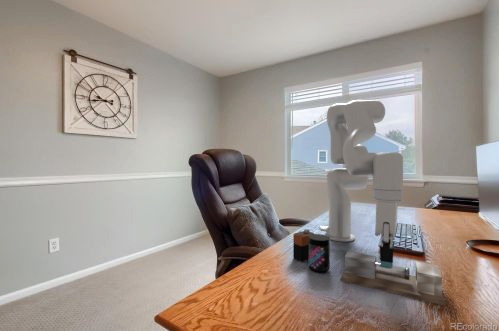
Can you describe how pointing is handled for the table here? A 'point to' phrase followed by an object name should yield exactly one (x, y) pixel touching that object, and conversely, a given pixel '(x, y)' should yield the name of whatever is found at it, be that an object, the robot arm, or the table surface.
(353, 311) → the table surface
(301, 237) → the battery
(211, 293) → the table surface
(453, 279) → the table surface
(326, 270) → the supplement container
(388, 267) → the l-shaped stand
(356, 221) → the table surface
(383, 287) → the tube rig
